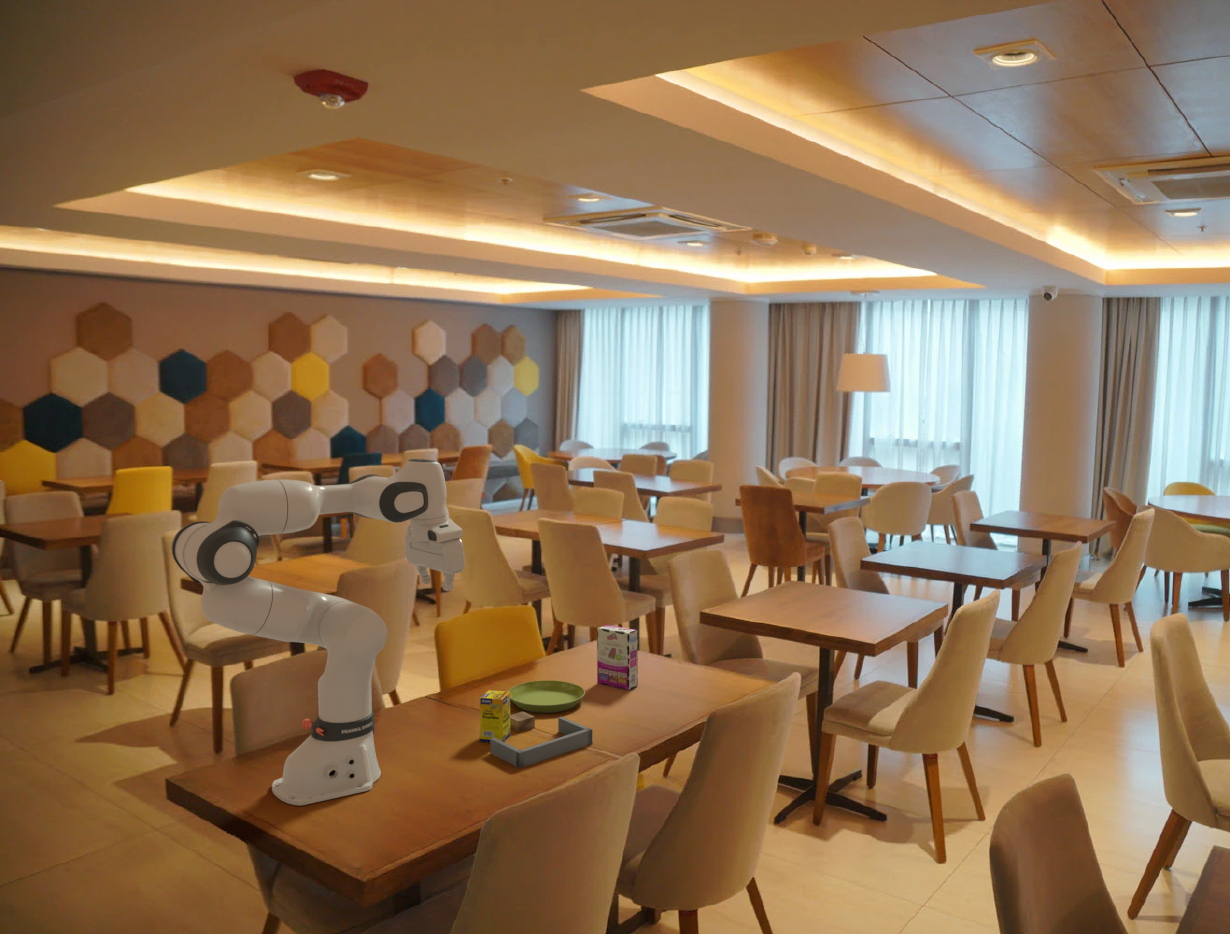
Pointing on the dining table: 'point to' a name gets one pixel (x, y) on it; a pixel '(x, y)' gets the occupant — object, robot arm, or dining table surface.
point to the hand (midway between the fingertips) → (436, 586)
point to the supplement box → (494, 715)
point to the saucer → (546, 696)
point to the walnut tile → (521, 721)
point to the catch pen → (544, 745)
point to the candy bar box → (617, 657)
